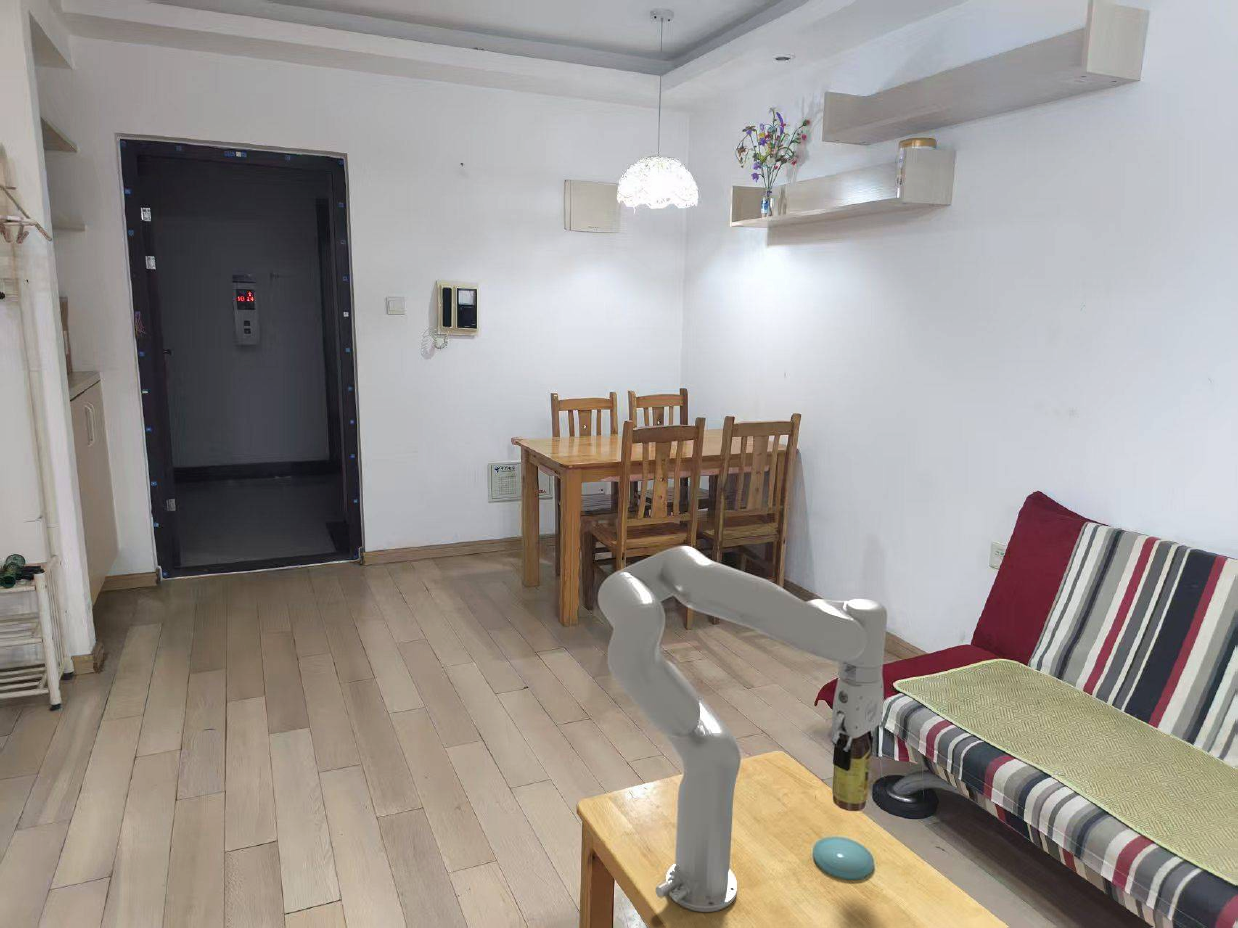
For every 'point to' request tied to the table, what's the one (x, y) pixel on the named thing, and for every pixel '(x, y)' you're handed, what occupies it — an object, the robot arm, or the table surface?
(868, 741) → the sauce bottle
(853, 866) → the coaster
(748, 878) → the table surface
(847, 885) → the table surface
